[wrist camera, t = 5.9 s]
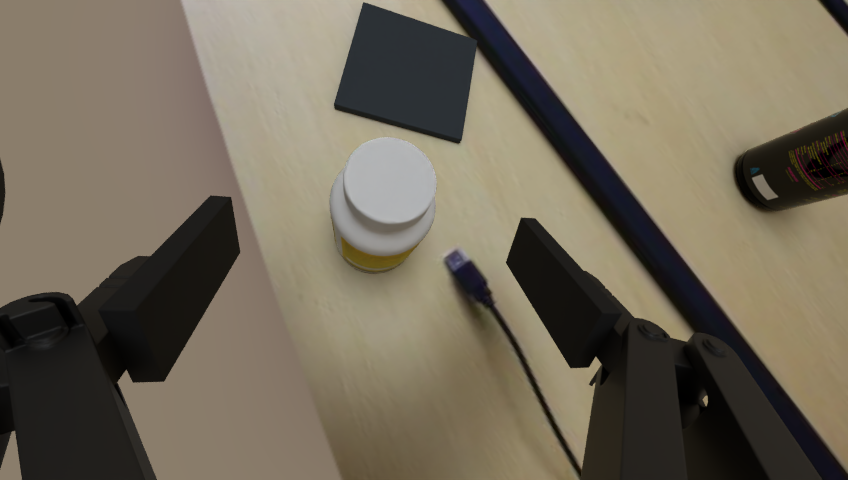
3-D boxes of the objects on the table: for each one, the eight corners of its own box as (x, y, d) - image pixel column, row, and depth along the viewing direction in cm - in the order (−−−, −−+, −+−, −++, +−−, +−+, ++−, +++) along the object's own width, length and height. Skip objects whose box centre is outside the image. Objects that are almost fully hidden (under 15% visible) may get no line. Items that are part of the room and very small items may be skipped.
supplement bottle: (425, 254, 23) (473, 212, 14) (355, 287, 22) (358, 264, 13) (392, 188, 24) (418, 107, 15) (322, 216, 22) (301, 144, 13)
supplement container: (796, 191, 33) (984, 137, 23) (766, 227, 31) (958, 184, 21) (753, 139, 34) (919, 65, 24) (720, 171, 32) (887, 105, 22)
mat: (334, 108, 24) (334, 103, 24) (363, 8, 27) (363, 1, 27) (459, 143, 26) (461, 139, 26) (475, 45, 29) (477, 40, 28)
